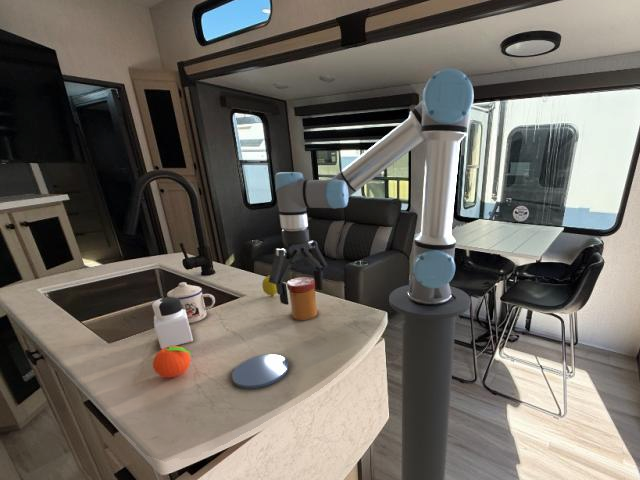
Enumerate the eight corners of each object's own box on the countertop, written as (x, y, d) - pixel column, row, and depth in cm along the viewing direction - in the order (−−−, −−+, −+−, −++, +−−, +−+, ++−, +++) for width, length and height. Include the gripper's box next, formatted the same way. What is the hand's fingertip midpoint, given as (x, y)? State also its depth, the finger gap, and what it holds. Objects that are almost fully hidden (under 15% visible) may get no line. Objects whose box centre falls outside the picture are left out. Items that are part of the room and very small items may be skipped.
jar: (322, 313, 103) (319, 282, 99) (303, 322, 97) (299, 289, 93) (306, 307, 107) (302, 278, 103) (287, 316, 101) (283, 284, 97)
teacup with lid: (169, 326, 94) (159, 290, 90) (178, 314, 102) (169, 280, 98) (215, 320, 98) (207, 285, 94) (220, 308, 106) (213, 275, 102)
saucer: (299, 367, 75) (299, 364, 75) (253, 396, 66) (252, 392, 65) (267, 351, 81) (267, 349, 81) (221, 376, 72) (221, 373, 72)
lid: (303, 280, 104) (302, 275, 103) (320, 285, 99) (320, 280, 99) (282, 288, 97) (281, 282, 97) (300, 294, 93) (299, 288, 92)
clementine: (203, 364, 76) (197, 338, 74) (190, 382, 70) (182, 354, 67) (167, 366, 75) (159, 340, 73) (150, 385, 69) (141, 357, 66)
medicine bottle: (190, 331, 91) (180, 292, 87) (193, 341, 86) (182, 300, 82) (160, 338, 87) (148, 298, 83) (161, 349, 82) (148, 307, 78)
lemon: (260, 297, 114) (257, 277, 112) (271, 292, 119) (268, 272, 116) (273, 299, 113) (270, 278, 110) (283, 294, 118) (280, 273, 115)
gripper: (318, 221, 104) (323, 282, 111) (247, 234, 84) (259, 307, 91) (334, 223, 100) (339, 286, 107) (264, 237, 80) (276, 313, 88)
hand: (302, 296), depth 99 cm, fingers open, 13 cm apart
